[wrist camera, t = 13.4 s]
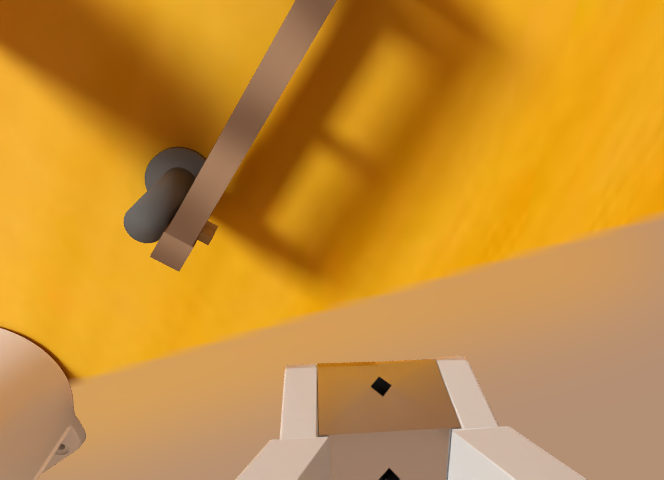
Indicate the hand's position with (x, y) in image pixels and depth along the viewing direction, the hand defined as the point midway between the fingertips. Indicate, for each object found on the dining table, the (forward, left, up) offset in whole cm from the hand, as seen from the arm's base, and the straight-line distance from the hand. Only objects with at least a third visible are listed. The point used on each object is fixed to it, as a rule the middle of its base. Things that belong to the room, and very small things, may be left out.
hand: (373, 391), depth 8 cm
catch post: (-11, +5, -29) cm, 31 cm away
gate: (-1, +4, -28) cm, 28 cm away
